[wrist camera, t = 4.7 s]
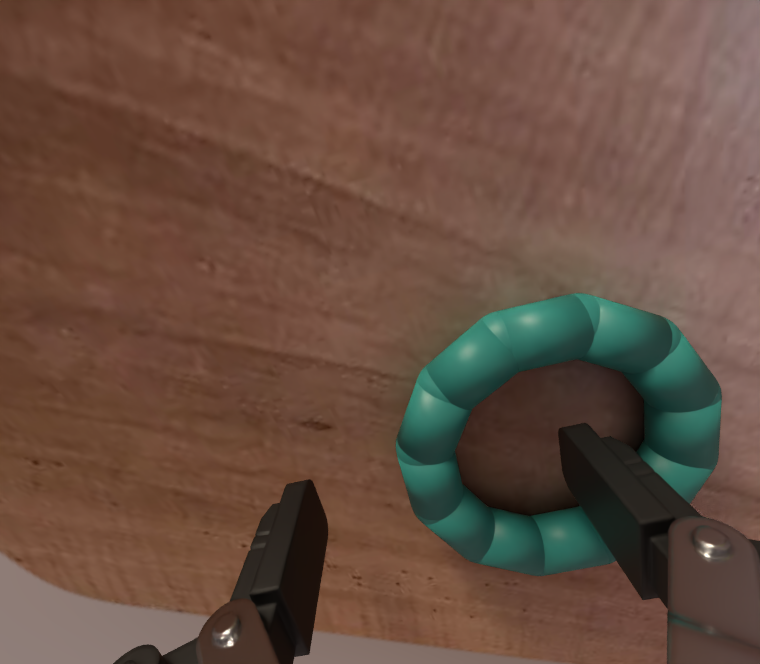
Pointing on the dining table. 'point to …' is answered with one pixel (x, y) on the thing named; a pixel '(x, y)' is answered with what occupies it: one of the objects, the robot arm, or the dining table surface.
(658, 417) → the ring
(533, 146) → the dining table surface
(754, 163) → the dining table surface
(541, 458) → the dining table surface
